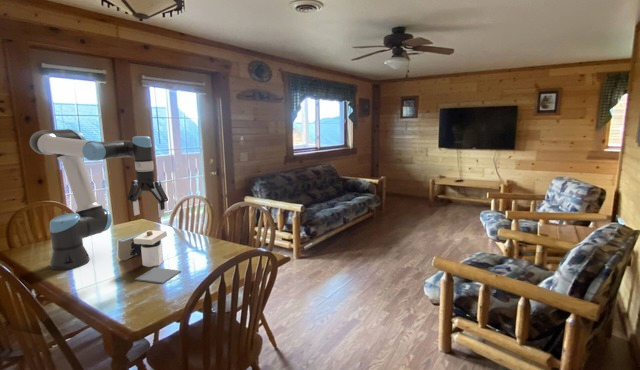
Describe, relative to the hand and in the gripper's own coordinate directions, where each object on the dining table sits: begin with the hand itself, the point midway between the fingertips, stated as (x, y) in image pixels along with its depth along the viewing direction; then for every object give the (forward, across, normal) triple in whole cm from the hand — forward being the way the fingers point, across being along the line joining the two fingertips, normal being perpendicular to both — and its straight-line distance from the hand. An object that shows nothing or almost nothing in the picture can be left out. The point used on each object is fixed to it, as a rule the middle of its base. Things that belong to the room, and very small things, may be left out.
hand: (149, 215), depth 161 cm
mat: (+24, +12, -11) cm, 29 cm away
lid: (+12, 0, 0) cm, 12 cm away
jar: (+24, 0, 0) cm, 24 cm away
